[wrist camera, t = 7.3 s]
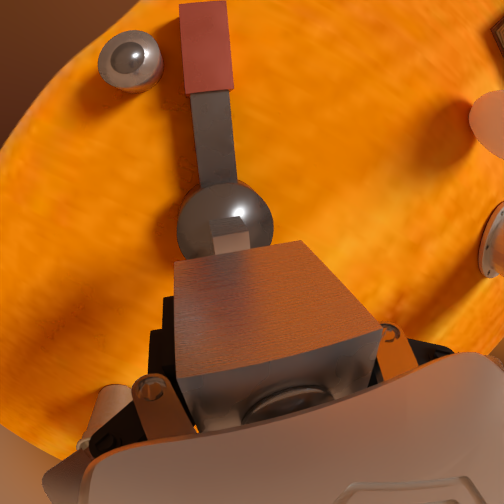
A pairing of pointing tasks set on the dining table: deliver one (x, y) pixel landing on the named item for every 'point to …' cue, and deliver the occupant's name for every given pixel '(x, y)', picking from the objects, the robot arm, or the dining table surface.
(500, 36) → the diary
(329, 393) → the socket
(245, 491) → the robot arm
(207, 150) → the ratchet
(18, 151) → the dining table surface
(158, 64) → the socket
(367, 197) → the dining table surface
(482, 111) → the white air blower bulb
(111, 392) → the flower pot
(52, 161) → the dining table surface
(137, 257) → the dining table surface
